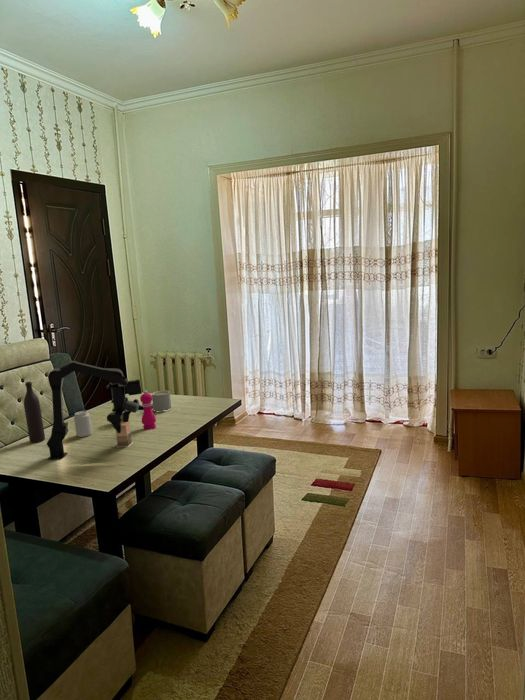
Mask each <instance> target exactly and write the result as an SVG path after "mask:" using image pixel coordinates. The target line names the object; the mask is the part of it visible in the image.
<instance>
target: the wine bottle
mask: <svg viewBox="0 0 525 700" xmlns="http://www.w3.org/2000/svg"><path fill="white" fill-rule="evenodd" d="M25 388H26V392H25V393H26V394H25V396H24V398H23V409H24V415H25V419H26V427H27V433H28V439H29V442H30V443H32V444H35V443H41V442H43V441H45V440H46V436H45V434H46V433H45V429H44V422H43V416H42V410H41V403H40V400H39V397H38V396H37V394H36V393H35V392H34V390H33V383H32V381H25Z"/></svg>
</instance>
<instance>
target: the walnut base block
mask: <svg viewBox="0 0 525 700" xmlns="http://www.w3.org/2000/svg"><path fill="white" fill-rule="evenodd" d="M132 439H133V438H132V432H130V433H129V434H128V435H127V436H116V442H117V443H116V444H117V446H118V447H117V448H124V447H123V446H129V445H130V444H131V443H132V442H133V440H132ZM132 444H133V443H132ZM132 444H131V445H132ZM131 445H130V446H131ZM130 446H129V447H130Z"/></svg>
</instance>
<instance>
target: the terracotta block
mask: <svg viewBox="0 0 525 700" xmlns="http://www.w3.org/2000/svg"><path fill="white" fill-rule="evenodd" d="M130 423H131V421H128V422H121V433H118V432H117V431H116V429H115V428H114V429H115V435H116V436H127V435H128V434H129V433H130V432H131V426H130V425H131V424H130ZM131 433H132V432H131Z"/></svg>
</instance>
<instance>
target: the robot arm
mask: <svg viewBox="0 0 525 700" xmlns="http://www.w3.org/2000/svg"><path fill="white" fill-rule="evenodd" d="M74 372H77V373H80V374H85V375H91V376H95V377H97V378H101V379H103V380H106V381H107V382H109V383H108V385H106V390H111V397H112V399H111V401H110V402H111V404H113V406H112V407H114V408H113V409H112V410H111V412H110V413H108V414H107V416H106V421H108V422H109V423H110V424H111V426H113V428H114V429H116V430H115V432H116V431H117V432H118V433H121V421H122V420H123V422H130V421H129V420H130V414H131V413H134V414H135V413H137V412H138V411H139V408H140V406H141V405H140V404H141V403H140V402H139V401H140V400H139V399H137V398H135V399H133V400H129V398H128V397H127V396H126V394H127V395H129V396H136V395H138V396H139V395H142V394H143V392H142V384H141V380H140V379H135V380H128V378H126V377H125V375H124V372H123V371H122V370H121V369H120V368H116V367H115V368H114V367H113V368H112V367H111V368H110V367H109V368H108V367H107V368H106V367H104V368H103V367H100V366H95V365H91V364H87V363H83V362H80V361H79V362H78V361H76V360H72V361H70V362H69V363H67V364H66V365H63V366H61V367H58V368H57V367H55V368H53V369H52V370H51V371H50V372H49V373H48V375H47V378H48V379H47V380H48V383H49V387H50V389H51V395H52V396H51V398H52V416H53V417H52V418H53V419H52V420H53V423H52V427H51V433H50V437H49V438H48V441H47V442H46V445H47V447H48V450H49V455H50V456H49V457H47V460H61V459H63V458H65V456H67V455H68V452H65V449H64V448H65V447H64V443H63V441H64V440H65V438H66V436H67V434H68V433H69V429H68V426H69V422H67V421H66V422H65V420H64V407H63V386H64V379H65V377H67V376H68V375H70V374H72V373H74ZM112 411H113V412H112Z"/></svg>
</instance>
